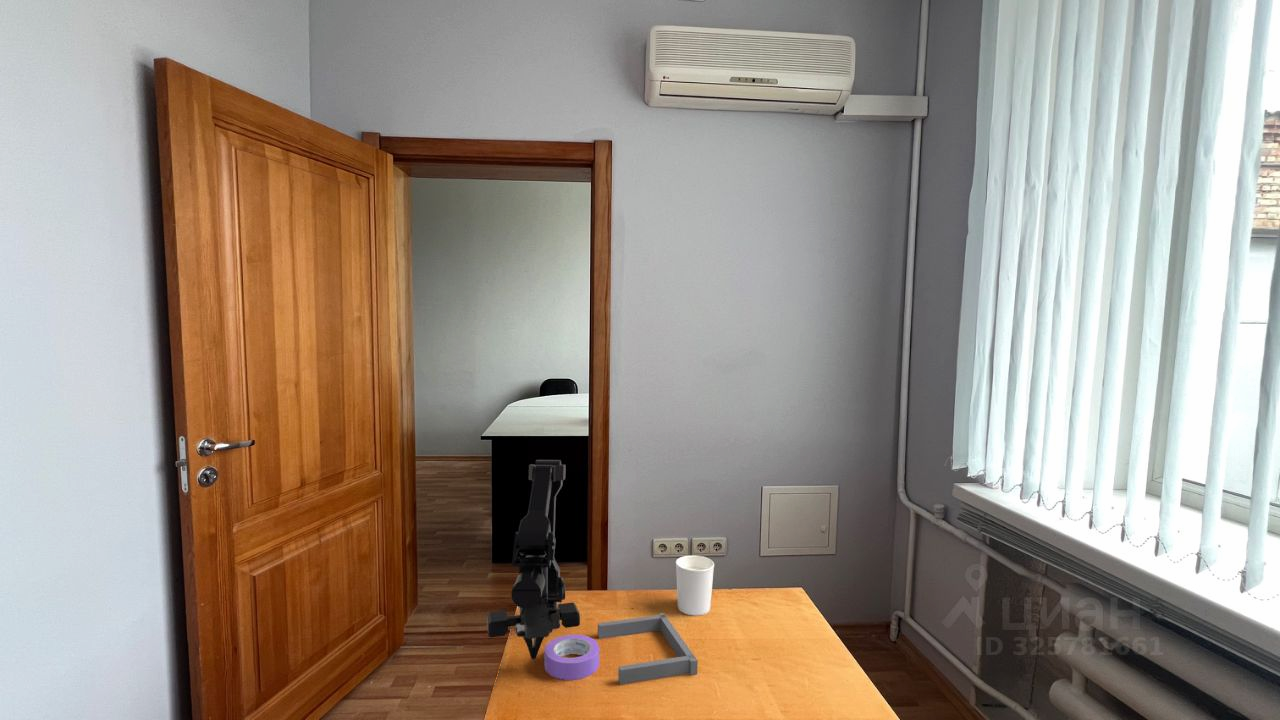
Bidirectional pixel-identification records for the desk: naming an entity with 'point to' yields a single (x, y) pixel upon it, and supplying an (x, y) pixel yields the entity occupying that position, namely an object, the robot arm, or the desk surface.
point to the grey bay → (651, 669)
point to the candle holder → (694, 584)
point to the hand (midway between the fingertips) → (533, 658)
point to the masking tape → (571, 666)
